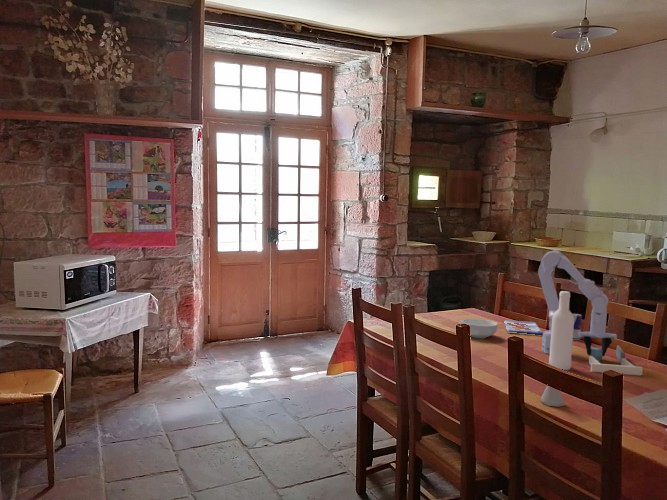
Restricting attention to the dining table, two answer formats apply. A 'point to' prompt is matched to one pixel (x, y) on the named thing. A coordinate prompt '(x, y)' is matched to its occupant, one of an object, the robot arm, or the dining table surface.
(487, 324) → the cereal bowl
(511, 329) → the blue white book
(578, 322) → the energy drink
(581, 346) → the dining table surface
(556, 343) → the bottle
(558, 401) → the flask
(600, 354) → the light blue block
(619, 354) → the duct cover
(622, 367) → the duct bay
